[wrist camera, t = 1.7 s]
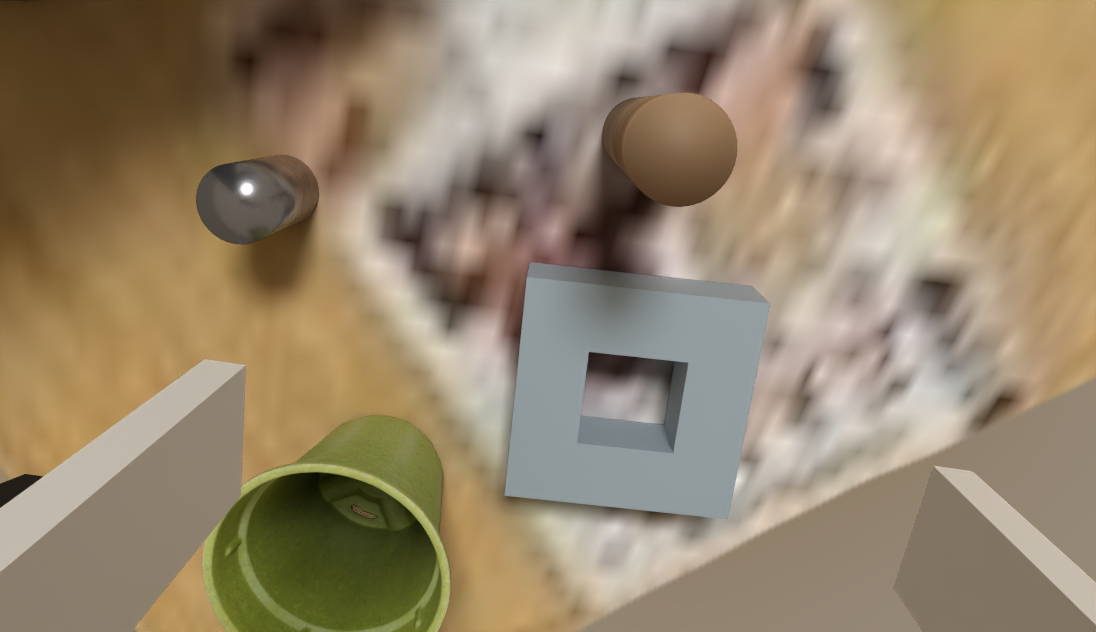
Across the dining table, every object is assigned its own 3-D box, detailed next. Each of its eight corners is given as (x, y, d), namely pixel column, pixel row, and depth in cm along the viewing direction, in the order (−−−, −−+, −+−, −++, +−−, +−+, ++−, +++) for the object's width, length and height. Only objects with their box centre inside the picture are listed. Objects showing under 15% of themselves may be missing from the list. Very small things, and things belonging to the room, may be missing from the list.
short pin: (250, 151, 32) (195, 159, 27) (319, 158, 32) (276, 168, 27) (250, 219, 33) (197, 239, 28) (318, 227, 33) (276, 248, 28)
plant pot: (258, 513, 37) (170, 632, 29) (321, 348, 34) (244, 426, 26) (433, 581, 38) (397, 716, 29) (506, 425, 35) (489, 525, 27)
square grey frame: (529, 262, 33) (526, 277, 30) (752, 286, 33) (770, 303, 30) (509, 464, 36) (504, 495, 33) (714, 486, 36) (727, 519, 33)
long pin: (607, 94, 31) (633, 86, 20) (678, 101, 31) (746, 99, 20) (598, 166, 32) (618, 200, 20) (667, 174, 32) (726, 212, 20)
